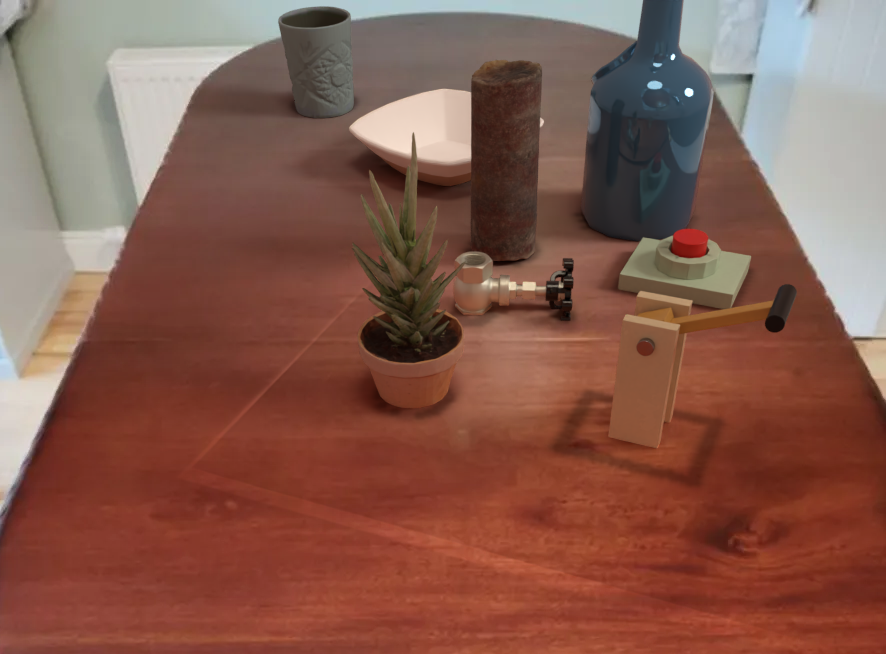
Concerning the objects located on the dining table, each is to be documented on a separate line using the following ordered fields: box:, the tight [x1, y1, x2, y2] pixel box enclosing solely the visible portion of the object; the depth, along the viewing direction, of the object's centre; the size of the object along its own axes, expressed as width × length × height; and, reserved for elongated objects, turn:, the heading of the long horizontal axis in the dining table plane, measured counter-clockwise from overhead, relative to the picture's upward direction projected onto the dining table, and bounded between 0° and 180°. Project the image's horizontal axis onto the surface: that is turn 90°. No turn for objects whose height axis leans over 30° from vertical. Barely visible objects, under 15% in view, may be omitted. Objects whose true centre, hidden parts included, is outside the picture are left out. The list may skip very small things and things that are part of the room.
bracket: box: [608, 291, 693, 449], centre depth 84 cm, size 12×9×13 cm
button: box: [671, 228, 709, 258], centre depth 105 cm, size 4×4×2 cm
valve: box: [452, 251, 575, 322], centre depth 101 cm, size 7×7×12 cm
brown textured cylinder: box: [470, 59, 543, 262], centre depth 106 cm, size 8×7×20 cm
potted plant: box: [351, 132, 466, 409], centre depth 85 cm, size 10×10×25 cm
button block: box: [617, 235, 752, 310], centre depth 107 cm, size 12×9×4 cm
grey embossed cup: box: [277, 5, 355, 119], centre depth 143 cm, size 10×10×12 cm
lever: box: [638, 283, 798, 334], centre depth 78 cm, size 12×5×2 cm, turn 66°
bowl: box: [348, 88, 545, 187], centre depth 130 cm, size 22×22×5 cm
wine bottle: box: [580, 0, 715, 242], centre depth 108 cm, size 14×13×30 cm
